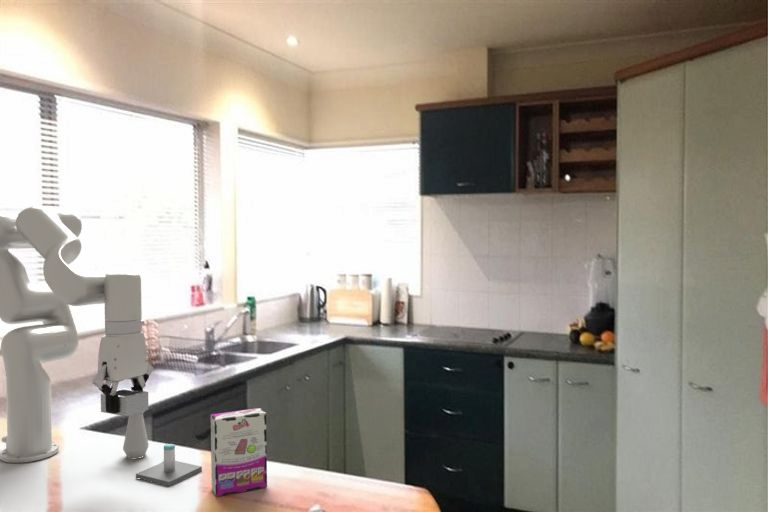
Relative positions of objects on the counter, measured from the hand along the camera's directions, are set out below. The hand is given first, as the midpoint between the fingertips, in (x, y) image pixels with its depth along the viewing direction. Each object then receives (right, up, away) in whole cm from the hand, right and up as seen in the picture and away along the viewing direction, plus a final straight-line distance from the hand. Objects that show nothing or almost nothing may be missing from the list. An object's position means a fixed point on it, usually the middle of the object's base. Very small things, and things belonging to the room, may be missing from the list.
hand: (124, 408), depth 138 cm
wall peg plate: (+9, -16, +3) cm, 19 cm away
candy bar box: (+26, -16, -4) cm, 31 cm away
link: (0, -1, 0) cm, 1 cm away
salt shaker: (-3, -16, +15) cm, 22 cm away
